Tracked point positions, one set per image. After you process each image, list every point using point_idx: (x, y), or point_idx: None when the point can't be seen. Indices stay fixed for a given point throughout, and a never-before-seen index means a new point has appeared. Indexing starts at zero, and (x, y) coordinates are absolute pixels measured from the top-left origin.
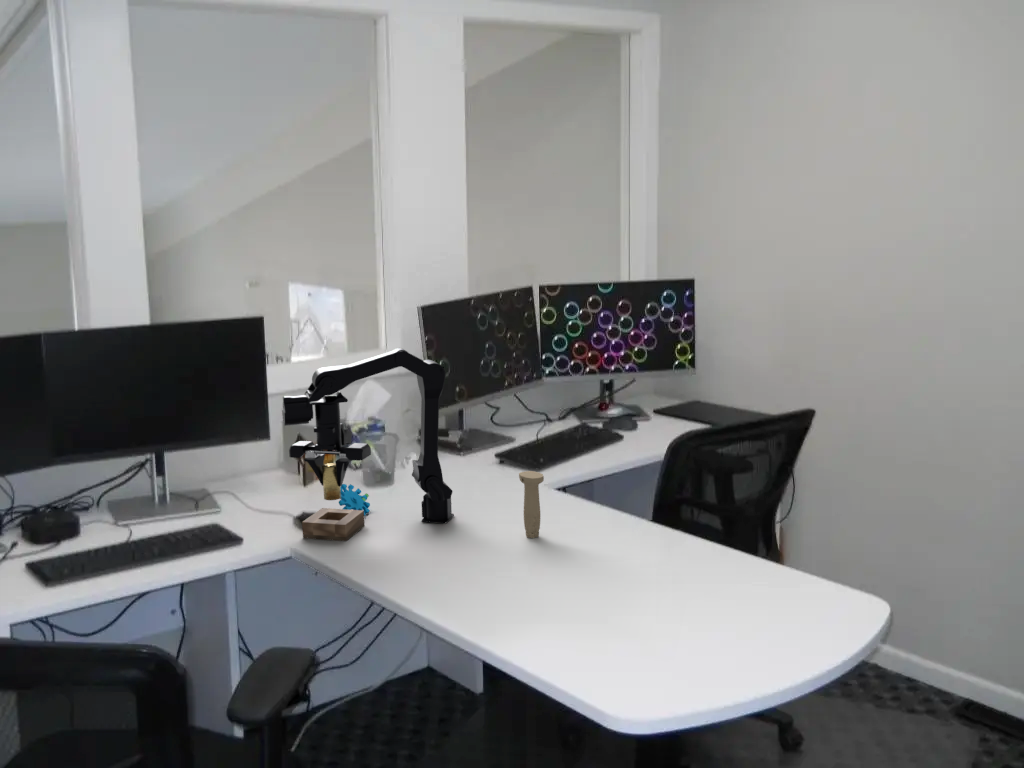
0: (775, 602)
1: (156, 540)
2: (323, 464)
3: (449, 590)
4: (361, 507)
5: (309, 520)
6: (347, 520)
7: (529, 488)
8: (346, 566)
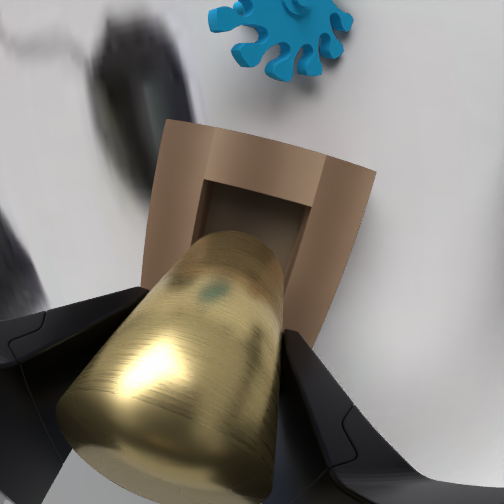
0: None
1: None
2: (32, 366)
3: (445, 472)
4: (327, 23)
5: None
6: (315, 305)
7: None
8: None
